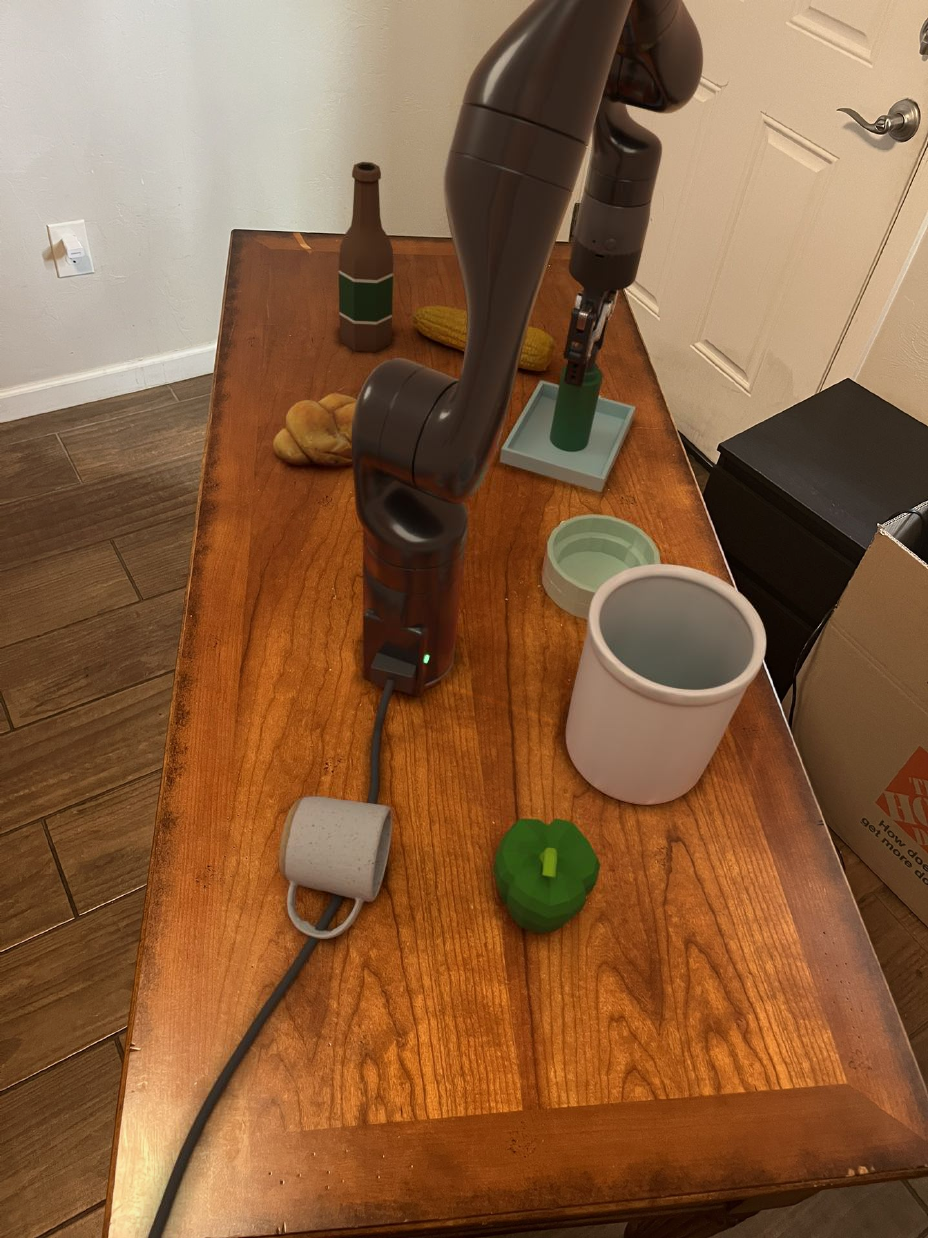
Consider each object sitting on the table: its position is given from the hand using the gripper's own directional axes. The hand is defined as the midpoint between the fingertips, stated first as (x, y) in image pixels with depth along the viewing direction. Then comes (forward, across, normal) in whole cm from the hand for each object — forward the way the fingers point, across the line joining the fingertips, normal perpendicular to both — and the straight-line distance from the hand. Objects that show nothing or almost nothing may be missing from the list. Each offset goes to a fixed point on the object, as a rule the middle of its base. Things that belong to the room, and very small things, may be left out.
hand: (583, 365), depth 113 cm
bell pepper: (+12, +61, +15) cm, 64 cm away
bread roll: (+12, +15, -27) cm, 33 cm away
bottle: (+11, 0, 0) cm, 11 cm away
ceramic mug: (+12, +66, -1) cm, 67 cm away
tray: (+12, 0, 0) cm, 12 cm away
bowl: (+12, +23, +10) cm, 28 cm away
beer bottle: (+12, -10, -33) cm, 37 cm away
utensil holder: (+12, +42, +19) cm, 48 cm away
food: (+12, -14, -17) cm, 25 cm away
